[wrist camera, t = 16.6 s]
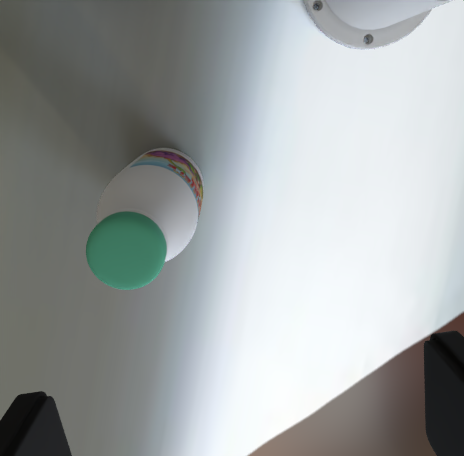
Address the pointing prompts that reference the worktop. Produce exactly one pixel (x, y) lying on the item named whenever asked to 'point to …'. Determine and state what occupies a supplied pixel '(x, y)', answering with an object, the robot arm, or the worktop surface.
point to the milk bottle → (145, 218)
